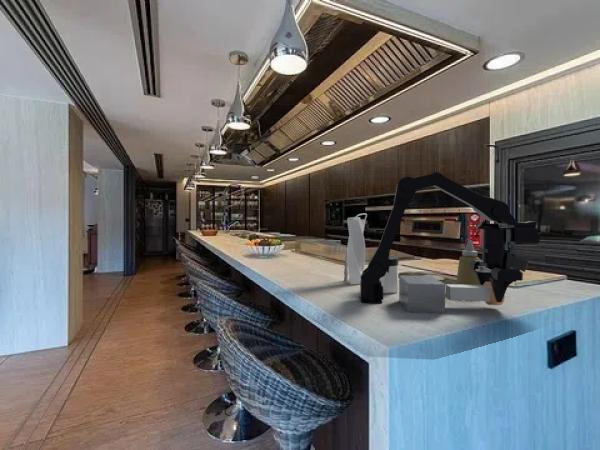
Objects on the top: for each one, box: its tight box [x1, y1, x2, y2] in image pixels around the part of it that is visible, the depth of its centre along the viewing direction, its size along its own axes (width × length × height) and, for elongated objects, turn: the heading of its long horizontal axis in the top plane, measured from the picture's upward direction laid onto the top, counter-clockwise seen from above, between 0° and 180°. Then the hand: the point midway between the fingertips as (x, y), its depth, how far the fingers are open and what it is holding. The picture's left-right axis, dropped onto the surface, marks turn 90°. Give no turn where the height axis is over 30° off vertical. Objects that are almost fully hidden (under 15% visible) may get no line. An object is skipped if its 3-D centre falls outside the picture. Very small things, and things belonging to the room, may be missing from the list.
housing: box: [398, 274, 446, 314], centre depth 95 cm, size 10×12×8 cm
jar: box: [380, 255, 400, 294], centre depth 114 cm, size 9×8×12 cm
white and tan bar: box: [445, 282, 505, 306], centre depth 93 cm, size 14×7×7 cm, turn 84°
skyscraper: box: [343, 212, 368, 286], centre depth 127 cm, size 8×8×28 cm
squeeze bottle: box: [456, 240, 481, 285], centre depth 113 cm, size 8×8×18 cm
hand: (493, 298), depth 92 cm, fingers closed on white and tan bar, 6 cm apart
